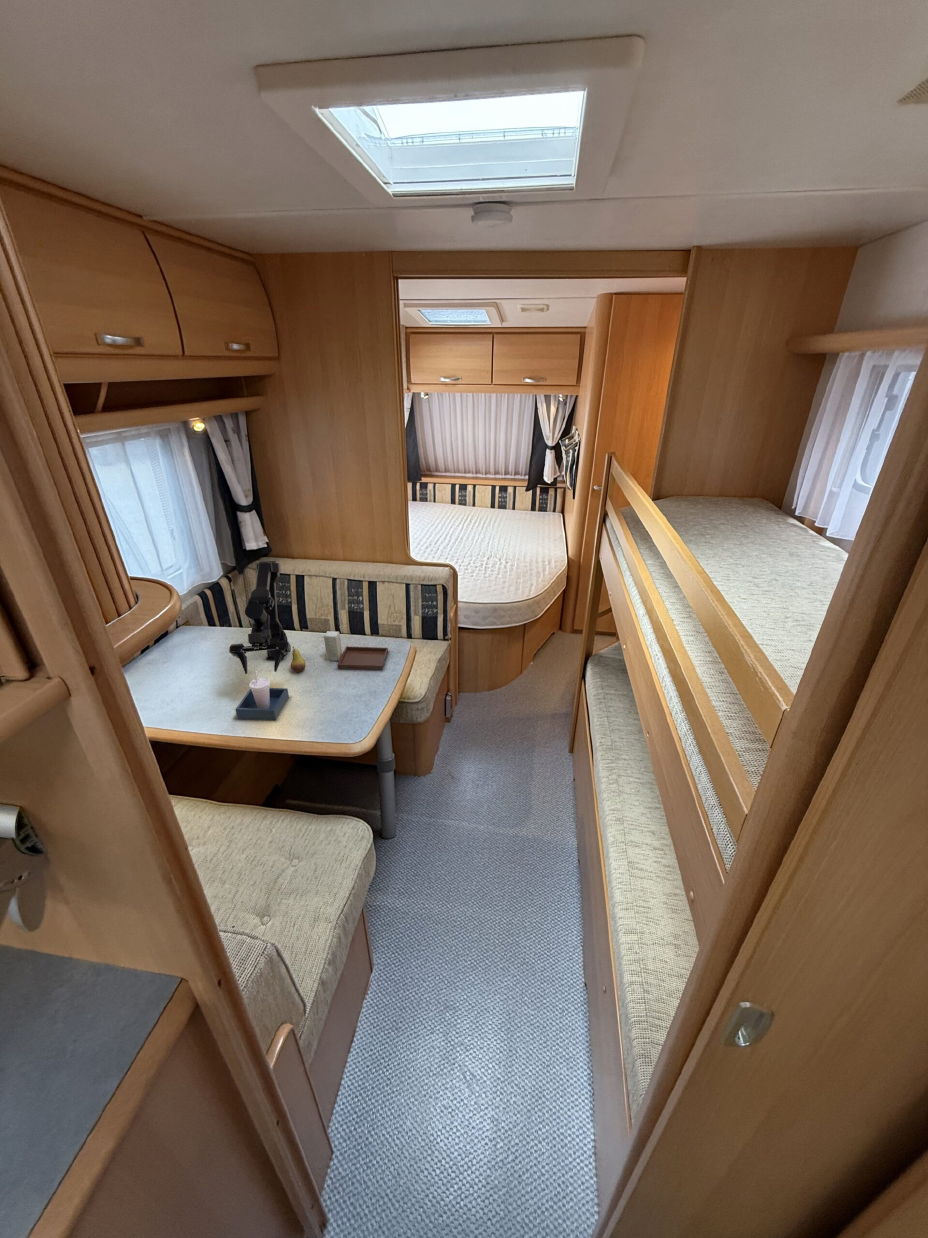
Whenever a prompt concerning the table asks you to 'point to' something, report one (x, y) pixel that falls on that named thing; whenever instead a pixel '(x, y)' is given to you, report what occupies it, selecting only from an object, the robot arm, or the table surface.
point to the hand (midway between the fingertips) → (260, 672)
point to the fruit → (297, 661)
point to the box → (333, 645)
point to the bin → (251, 711)
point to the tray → (363, 658)
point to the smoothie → (260, 691)
